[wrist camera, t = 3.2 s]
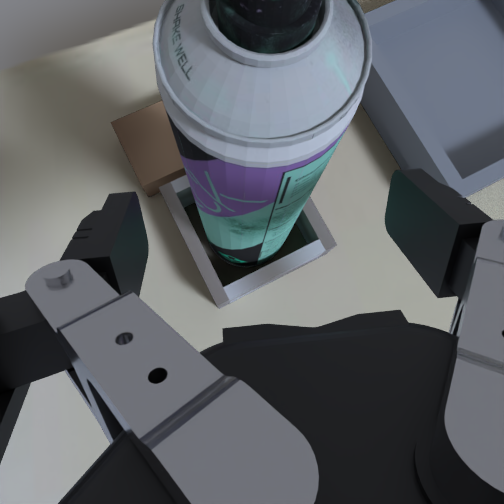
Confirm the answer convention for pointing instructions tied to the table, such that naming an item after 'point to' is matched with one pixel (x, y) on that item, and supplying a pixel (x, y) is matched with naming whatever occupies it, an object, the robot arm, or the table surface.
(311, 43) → the spray can
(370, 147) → the table surface
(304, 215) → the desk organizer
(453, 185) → the tray
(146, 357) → the robot arm
